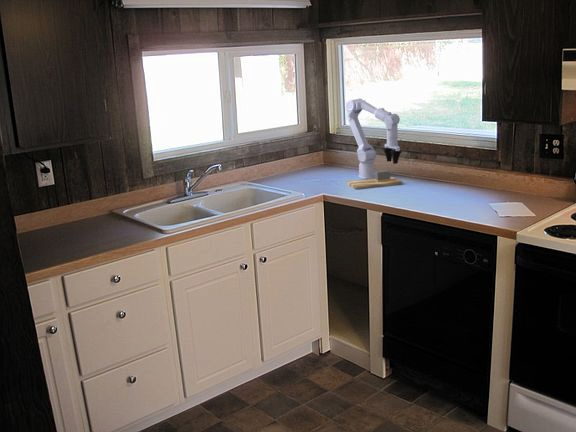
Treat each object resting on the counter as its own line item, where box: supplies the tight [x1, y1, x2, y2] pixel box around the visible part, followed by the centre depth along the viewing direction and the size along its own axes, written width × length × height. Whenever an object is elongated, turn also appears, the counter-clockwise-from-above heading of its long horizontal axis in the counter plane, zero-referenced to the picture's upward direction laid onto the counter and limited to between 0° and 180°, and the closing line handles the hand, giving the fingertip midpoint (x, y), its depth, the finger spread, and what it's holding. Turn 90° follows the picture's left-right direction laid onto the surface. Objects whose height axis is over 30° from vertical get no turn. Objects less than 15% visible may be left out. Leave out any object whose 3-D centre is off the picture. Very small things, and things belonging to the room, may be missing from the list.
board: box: [346, 176, 403, 190], centre depth 333 cm, size 14×26×2 cm, turn 104°
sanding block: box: [374, 169, 391, 182], centre depth 333 cm, size 4×7×5 cm, turn 104°
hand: (392, 162), depth 337 cm, fingers open, 7 cm apart
